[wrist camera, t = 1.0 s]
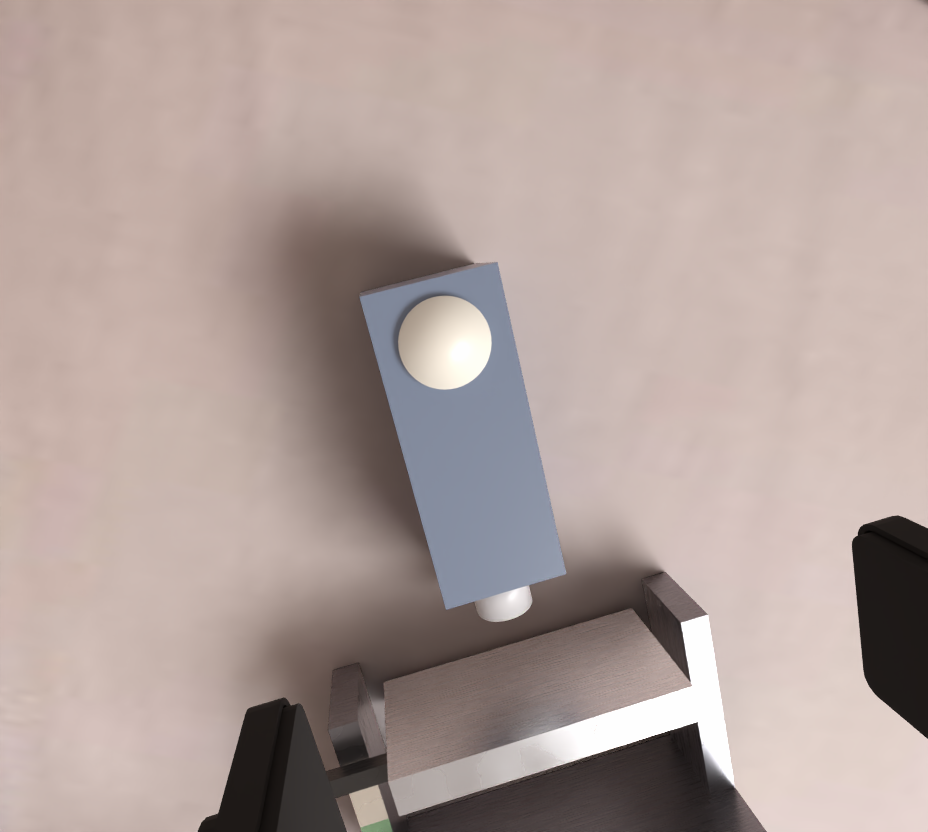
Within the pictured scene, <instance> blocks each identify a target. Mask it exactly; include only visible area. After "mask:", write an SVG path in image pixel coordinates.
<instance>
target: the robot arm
mask: <svg viewBox="0 0 928 832" xmlns="http://www.w3.org/2000/svg"><path fill="white" fill-rule="evenodd" d="M852 552H853V563H854V573H855V584H856V595H857V605H858V616H859V627H860V638H861V648H862V659H863V670H864V675H865V678H866V681H867V683H868V685H869V687H870V688H871V689H872V691H873V692H874V693H875V694H876V695H877V696H878V697H879V698H880V699H881V700H882V701H883V702H885V703H886V704H887V705H888V706H889V707H891V708H892V709H893V710H894V711H895V712H896V713H898V714H899V715H900V716H901V717H902V718H904V719H905V720H906V721H907V722H908V723H910V724H911V725H912V726H913V727H914V728H916V729H917V730H918V731H919V732H920V733H921V734H923V735H924V736H925V737H926V738H927V739H928V528H926V527H923V526H921V525H919V524H917V523H915V522H913V521H911V520H908V519H906V518H904V517H901V516H891V517H888V518H885V519H881V520H878V521H874V522H871V523H868V524H864V525H863V526H861V527H860V529H859V531H858V536H856V537H855V538H854V539H853V541H852ZM198 832H347V831H346V828H345V825H344V822H343V820H342V817H341V814H340V811H339V808H338V805H337V802H336V800H335V797H334V794H333V791H332V788H331V785H330V783H329V780H328V777H327V774H326V771H325V768H324V765H323V763H322V760H321V757H320V754H319V751H318V748H317V746H316V743H315V740H314V737H313V734H312V731H311V728H310V726H309V723H308V720H307V717H306V714H305V711H304V709H303V707H302V705H301V704H299V703H298V704H295V705H292V706H290V704H289V702H288V700H287V699H286V698H281V699H278V700H274V701H271V702H268V703H264V704H261V705H258V706H254V707H251V708H249V709H247V712H246V714H245V718H244V721H243V725H242V729H241V732H240V736H239V740H238V743H237V747H236V751H235V754H234V758H233V762H232V765H231V769H230V773H229V776H228V780H227V784H226V787H225V791H224V795H223V798H222V802H221V806H220V809H219V813H218V814H216V815H213V816H209V817H206V818H205V820H204V821H203V822H202V823H201V825H200V827H199V830H198Z"/></svg>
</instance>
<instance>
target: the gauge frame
mask: <svg viewBox="0 0 928 832" xmlns="http://www.w3.org/2000/svg"><path fill="white" fill-rule="evenodd" d="M642 582H643V588H644V593H645V599H646V604H647V610H648V615H649V621H650V626H651V632H652V634H653V636H654V637H655V638H656V639H657V641H658V642H659V643H660V644H661V646H662V647H663V648H664V650H665V651H666V652H667V653H668V655H669V656H670V657H671V658H672V660H673V661H674V662H675V663H676V665H677V666H678V667H679V669H680V670H681V671H682V672H683V674H684V675H685V676H686V677H687V679H688V680H689V681H690V683H691V684H692V685H693V687H694V693H695V698H696V704H697V710H698V716H699V721H697V722H694V723H691V724H688V725H685V726H682V727H679V728H675V729H672V730H669V731H670V735H668V736H664V737H661V738H658V739H655V740H652V741H649V742H646V743H642V744H639V745H636V746H633V747H630V748H627V749H624V750H621V751H617V752H614V753H611V754H608V755H605V756H602V757H599V758H595V759H592V760H589V761H586V762H583V763H580V764H577V765H574V766H570V767H567V768H564V769H561V770H558V771H555V772H552V773H549V774H545V775H542V776H539V777H536V778H533V779H530V780H527V781H523V782H520V783H517V784H514V785H511V786H508V787H505V788H502V789H498V790H495V791H492V792H489V793H486V794H483V795H480V796H476V797H473V798H470V799H467V800H464V801H461V802H458V803H455V804H451V805H448V806H445V807H442V808H439V809H436V810H433V811H429V812H426V813H423V814H420V815H417V816H414V817H411V818H408V819H407V815H402V816H399V814H398V811H397V808H396V805H395V802H394V799H393V796H392V792H391V789H390V786H389V783H388V782H385V783H382V784H379V785H376V786H373V787H369V788H366V789H363V790H360V791H357V792H353V793H350V794H349V796H350V799H351V802H352V805H353V808H354V811H355V813H356V816H357V819H358V822H359V825H360V828H361V831H362V832H766V830H765V829H764V828H763V826H762V825H761V823H760V822H759V821H758V819H757V818H756V816H755V815H754V814H753V812H752V811H751V809H750V808H749V807H748V805H747V804H746V802H745V801H744V800H743V798H742V797H741V795H740V794H739V793H738V791H737V790H736V788H735V785H734V779H733V772H732V766H731V759H730V753H729V747H728V740H727V734H726V727H725V721H724V715H723V708H722V702H721V695H720V689H719V683H718V676H717V670H716V664H715V657H714V651H713V644H712V638H711V632H710V625H709V619H708V614H707V613H706V612H705V611H704V610H703V609H702V608H701V607H700V606H699V605H698V604H697V603H696V602H695V601H694V600H693V599H692V598H691V597H690V596H689V595H688V594H687V593H686V592H685V591H684V590H683V589H682V588H681V587H680V586H679V585H678V584H677V583H676V582H675V581H674V580H673V579H672V578H671V577H670V576H669V575H668V574H667V573H666V572H664V573H661V574H657V575H654V576H651V577H647V578H644V579H642ZM328 731H329V734H330V737H331V740H332V743H333V746H334V749H335V752H336V755H337V758H338V761H339V764H340V767H342V766H345V765H348V764H352V763H355V762H358V761H361V760H365V759H368V758H371V757H374V756H378V755H381V754H384V753H387V752H386V748H385V745H384V742H383V739H382V736H381V733H380V729H379V726H378V723H377V720H376V717H375V713H374V710H373V707H372V704H371V701H370V698H369V694H368V691H367V688H366V685H365V682H364V678H363V675H362V672H361V669H360V666H359V663H356V664H353V665H349V666H346V667H343V668H339V669H336V670H333V675H332V687H331V699H330V712H329V724H328Z"/></svg>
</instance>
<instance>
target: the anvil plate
mask: <svg viewBox="0 0 928 832" xmlns="http://www.w3.org/2000/svg"><path fill="white" fill-rule="evenodd" d="M384 701H385V723H386V745H387V753H384V754H381V755H378V756H374V757H371V758H368V759H365V760H361V761H358V762H355V763H352V764H348V765H345V766H342V767H339V768H335V769H332V770H329V771H326V774H327V777H328V780H329V783H330V785H331V788H332V791H333V794H334V797H335V798H337V797H341V796H344V795H347V794H350V793H353V792H357V791H360V790H363V789H366V788H369V787H373V786H376V785H379V784H382V783H385V782H388V783H389V786H390V789H391V792H392V796H393V799H394V802H395V805H396V808H397V811H398V814H399V816H402V815H406V814H409V813H412V812H415V811H418V810H421V809H424V808H427V807H431V806H434V805H437V804H440V803H443V802H446V801H449V800H453V799H456V798H459V797H462V796H465V795H468V794H471V793H475V792H478V791H481V790H484V789H487V788H490V787H493V786H497V785H500V784H503V783H506V782H509V781H512V780H515V779H519V778H522V777H525V776H528V775H531V774H534V773H537V772H540V771H544V770H547V769H550V768H553V767H556V766H559V765H562V764H566V763H569V762H572V761H575V760H578V759H581V758H584V757H588V756H591V755H594V754H597V753H600V752H603V751H606V750H610V749H613V748H616V747H619V746H622V745H625V744H628V743H632V742H635V741H638V740H641V739H644V738H647V737H650V736H653V735H657V734H660V733H663V732H666V731H669V730H672V729H675V728H679V727H682V726H685V725H688V724H691V723H694V722H697V721H699V716H698V710H697V704H696V698H695V693H694V687H693V685H692V684H691V683H690V681H689V680H688V679H687V677H686V676H685V675H684V674H683V672H682V671H681V670H680V669H679V667H678V666H677V665H676V663H675V662H674V661H673V660H672V658H671V657H670V656H669V655H668V653H667V652H666V651H665V650H664V648H663V647H662V646H661V644H660V643H659V642H658V641H657V639H656V638H655V637H654V636H653V634H652V633H651V632H650V631H649V629H648V628H647V627H646V625H645V624H644V623H643V622H642V620H641V619H640V618H639V617H638V615H637V614H636V613H635V611H634V610H633V609H632V608H630V609H626V610H623V611H620V612H616V613H613V614H610V615H606V616H603V617H600V618H596V619H593V620H590V621H586V622H583V623H580V624H576V625H573V626H570V627H566V628H563V629H560V630H556V631H553V632H550V633H546V634H543V635H539V636H536V637H533V638H529V639H526V640H523V641H519V642H516V643H513V644H509V645H506V646H503V647H499V648H496V649H493V650H489V651H486V652H483V653H479V654H476V655H473V656H469V657H466V658H463V659H459V660H456V661H453V662H449V663H446V664H443V665H439V666H436V667H433V668H429V669H426V670H423V671H419V672H416V673H412V674H409V675H406V676H402V677H399V678H396V679H392V680H389V681H386V682H384Z"/></svg>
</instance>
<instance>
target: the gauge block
mask: <svg viewBox="0 0 928 832" xmlns="http://www.w3.org/2000/svg"><path fill="white" fill-rule="evenodd" d="M359 297H360V301H361V305H362V308H363V312H364V315H365V319H366V323H367V326H368V330H369V334H370V337H371V341H372V344H373V348H374V352H375V355H376V359H377V362H378V366H379V370H380V373H381V377H382V381H383V384H384V388H385V391H386V395H387V399H388V402H389V406H390V409H391V413H392V417H393V420H394V424H395V427H396V431H397V435H398V438H399V442H400V446H401V449H402V453H403V456H404V460H405V464H406V467H407V471H408V474H409V478H410V482H411V485H412V489H413V492H414V496H415V500H416V503H417V507H418V511H419V514H420V518H421V521H422V525H423V529H424V532H425V536H426V539H427V543H428V547H429V550H430V554H431V557H432V561H433V565H434V568H435V572H436V576H437V579H438V583H439V586H440V590H441V594H442V597H443V601H444V604H445V608H446V610H447V609H451V608H454V607H458V606H461V605H464V604H468V603H471V602H475V605H476V609H477V613H478V615H479V616H480V617H481V618H482V619H484V620H487V621H492V622H501V621H507V620H511V619H514V618H516V617H518V616H520V615H522V614H524V613H525V612H526V611H527V610H528V609H529V608H530V606H531V604H532V596H531V592H530V588H529V585H531V584H535V583H538V582H541V581H545V580H548V579H551V578H555V577H558V576H561V575H565V574H566V570H565V566H564V561H563V556H562V552H561V547H560V543H559V538H558V534H557V529H556V525H555V520H554V516H553V511H552V507H551V502H550V498H549V493H548V489H547V484H546V480H545V475H544V471H543V466H542V462H541V457H540V453H539V448H538V444H537V439H536V434H535V430H534V425H533V421H532V416H531V412H530V407H529V403H528V398H527V394H526V389H525V385H524V380H523V376H522V371H521V367H520V362H519V358H518V353H517V349H516V344H515V340H514V335H513V331H512V326H511V322H510V317H509V313H508V308H507V303H506V299H505V294H504V290H503V285H502V281H501V276H500V272H499V267H498V263H497V262H492V263H475V264H471V265H467V266H463V267H459V268H455V269H451V270H447V271H443V272H439V273H435V274H431V275H427V276H423V277H419V278H415V279H411V280H407V281H403V282H399V283H395V284H391V285H387V286H383V287H379V288H375V289H371V290H367V291H363V292H360V296H359Z"/></svg>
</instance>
